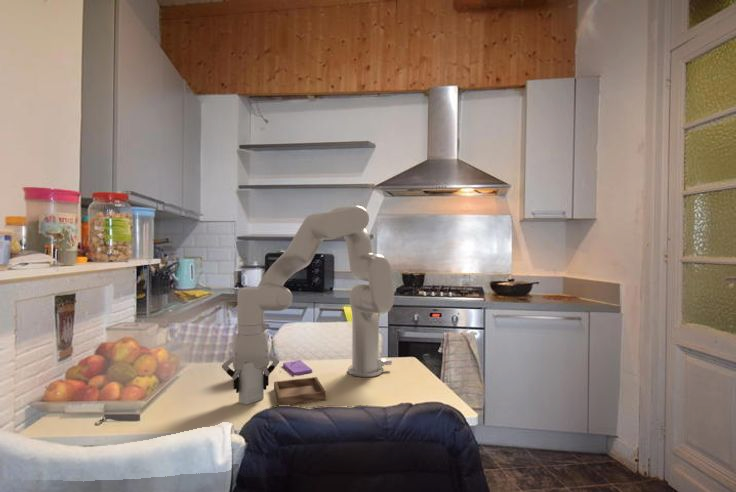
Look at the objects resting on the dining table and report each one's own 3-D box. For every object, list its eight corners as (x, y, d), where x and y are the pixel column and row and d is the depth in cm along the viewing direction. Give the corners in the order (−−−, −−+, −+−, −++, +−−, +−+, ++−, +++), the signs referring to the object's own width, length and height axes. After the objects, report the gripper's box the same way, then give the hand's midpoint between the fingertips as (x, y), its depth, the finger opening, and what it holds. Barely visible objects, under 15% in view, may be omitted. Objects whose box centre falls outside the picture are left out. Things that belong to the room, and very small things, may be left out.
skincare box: (255, 395, 121) (255, 355, 121) (264, 399, 118) (264, 358, 118) (237, 401, 116) (237, 360, 116) (246, 406, 113) (246, 363, 113)
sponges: (300, 364, 153) (300, 359, 153) (312, 374, 142) (312, 368, 142) (282, 367, 150) (282, 362, 150) (293, 377, 139) (293, 372, 139)
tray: (316, 384, 130) (316, 376, 130) (325, 400, 117) (325, 391, 117) (274, 389, 126) (274, 381, 126) (278, 406, 113) (278, 397, 113)
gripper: (279, 324, 123) (279, 382, 123) (219, 328, 118) (219, 388, 118) (282, 330, 116) (282, 390, 116) (218, 334, 111) (219, 398, 111)
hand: (251, 389), depth 117 cm, fingers closed on skincare box, 7 cm apart
